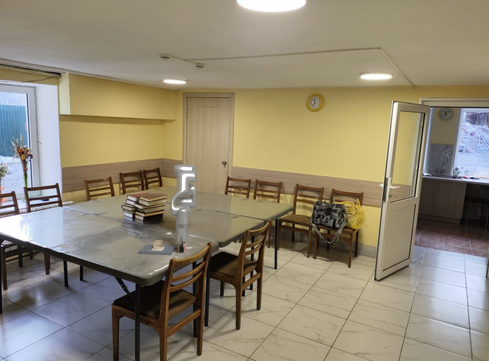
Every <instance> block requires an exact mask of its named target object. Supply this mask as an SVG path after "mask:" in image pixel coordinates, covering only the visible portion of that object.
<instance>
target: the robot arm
mask: <svg viewBox="0 0 489 361" xmlns="http://www.w3.org/2000/svg"><path fill="white" fill-rule="evenodd" d="M172 169H173V173H174V175H175V177H176V192H175V194H174V195H173V196H172V198H171V199H170V210H169V211H170V215H171V216H172V217H175V232H173V236H175V237H177V238H176V239H177V243H178V245H179V252H178V253H185V252H184V243H187V242H186V241H187V237H188V236H189V235H190V232H189V231H188V229H189V216H190V215H191V213H192V209H195V208H197V202H198V198H197V197H198V188H197V185H196V184H194V183H196V182H197V179H198V173H197V172H198V170H197V167H196V165H195V164H175V165H174V166H173V168H172ZM182 243H183V244H182Z"/></svg>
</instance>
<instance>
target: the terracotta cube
mask: <svg viewBox="0 0 489 361" xmlns="http://www.w3.org/2000/svg"><path fill="white" fill-rule="evenodd" d="M182 244H183V243H182ZM187 244H188V243H187V242H186V243H184V252H183V253H186V252H187V250H188V248H187V246H188V245H187ZM177 252H178V253H180V252H179V244H178V245H177Z"/></svg>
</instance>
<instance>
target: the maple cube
mask: <svg viewBox="0 0 489 361" xmlns="http://www.w3.org/2000/svg"><path fill="white" fill-rule="evenodd" d="M152 245H153V249H154V250H161V249H162V247H163V245H164V244H163V240H158V239H155V240H154V242H153V244H152Z"/></svg>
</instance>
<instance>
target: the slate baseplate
mask: <svg viewBox="0 0 489 361" xmlns="http://www.w3.org/2000/svg"><path fill="white" fill-rule="evenodd" d="M176 249H177V245H168V244H167V245H166V244H163V247H162V249H161V250H154V249H153V244H147V243H146V244H145V245H143V247H141V249H140V250H139V251H138V254H140V255H141V254H142V255H157V256H158V255H159V256H172V254H173V253H174V251H175V250H176Z"/></svg>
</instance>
